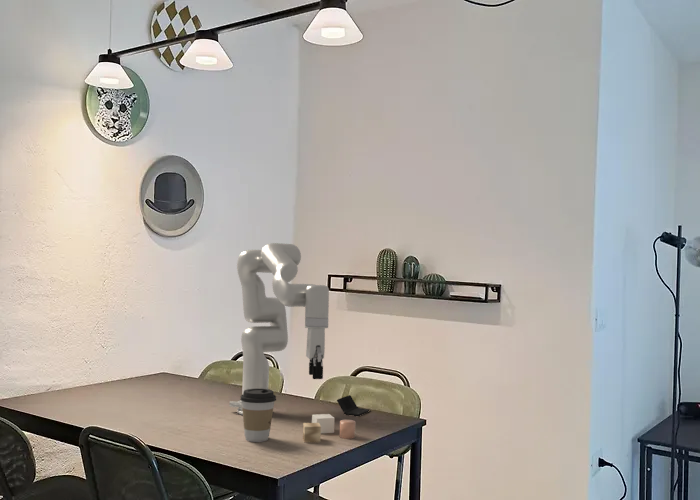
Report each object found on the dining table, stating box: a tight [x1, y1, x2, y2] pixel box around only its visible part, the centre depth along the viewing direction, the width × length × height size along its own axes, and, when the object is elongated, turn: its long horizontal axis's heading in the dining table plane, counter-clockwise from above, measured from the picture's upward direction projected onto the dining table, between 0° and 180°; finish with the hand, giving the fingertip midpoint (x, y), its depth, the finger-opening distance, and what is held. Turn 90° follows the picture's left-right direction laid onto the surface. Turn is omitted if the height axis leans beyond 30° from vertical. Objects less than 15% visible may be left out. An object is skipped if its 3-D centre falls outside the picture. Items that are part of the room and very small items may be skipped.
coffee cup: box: [239, 388, 277, 443], centre depth 214 cm, size 11×11×15 cm
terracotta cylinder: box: [339, 419, 356, 440], centre depth 221 cm, size 5×5×5 cm
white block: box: [311, 413, 335, 434], centre depth 227 cm, size 6×6×5 cm
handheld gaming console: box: [336, 394, 370, 417], centre depth 258 cm, size 12×7×10 cm
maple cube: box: [302, 422, 322, 444], centre depth 215 cm, size 5×5×5 cm
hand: (315, 376), depth 219 cm, fingers open, 9 cm apart
